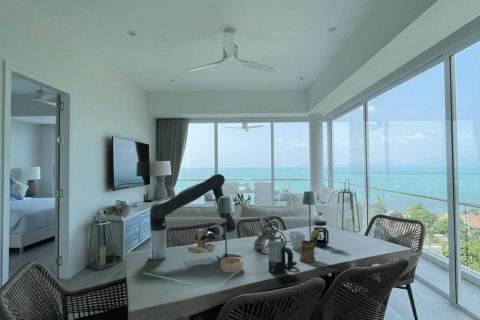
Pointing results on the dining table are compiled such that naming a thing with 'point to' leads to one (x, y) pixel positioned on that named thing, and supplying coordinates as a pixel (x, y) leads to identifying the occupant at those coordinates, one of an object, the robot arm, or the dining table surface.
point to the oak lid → (201, 244)
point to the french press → (318, 240)
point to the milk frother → (279, 258)
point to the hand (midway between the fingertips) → (198, 238)
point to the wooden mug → (309, 248)
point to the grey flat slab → (201, 264)
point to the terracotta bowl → (231, 264)
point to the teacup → (296, 239)
